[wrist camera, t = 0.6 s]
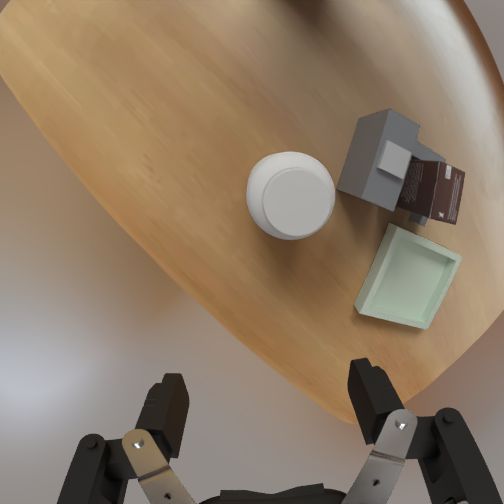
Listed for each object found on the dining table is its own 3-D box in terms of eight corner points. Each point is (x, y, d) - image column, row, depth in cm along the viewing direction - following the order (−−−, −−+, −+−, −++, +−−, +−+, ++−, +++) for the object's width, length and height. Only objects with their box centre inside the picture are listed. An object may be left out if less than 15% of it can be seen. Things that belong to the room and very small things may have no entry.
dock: (359, 118, 32) (392, 107, 23) (434, 158, 34) (476, 162, 25) (336, 189, 35) (363, 199, 26) (413, 221, 37) (452, 240, 27)
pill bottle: (238, 205, 36) (231, 235, 22) (259, 144, 34) (265, 132, 19) (298, 225, 37) (327, 266, 23) (319, 166, 35) (364, 171, 20)
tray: (388, 222, 37) (397, 226, 34) (453, 251, 38) (462, 256, 35) (353, 304, 40) (359, 313, 38) (419, 321, 42) (427, 329, 39)
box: (405, 207, 36) (456, 227, 24) (378, 200, 36) (426, 218, 24) (412, 165, 34) (467, 171, 23) (386, 157, 34) (437, 159, 22)
